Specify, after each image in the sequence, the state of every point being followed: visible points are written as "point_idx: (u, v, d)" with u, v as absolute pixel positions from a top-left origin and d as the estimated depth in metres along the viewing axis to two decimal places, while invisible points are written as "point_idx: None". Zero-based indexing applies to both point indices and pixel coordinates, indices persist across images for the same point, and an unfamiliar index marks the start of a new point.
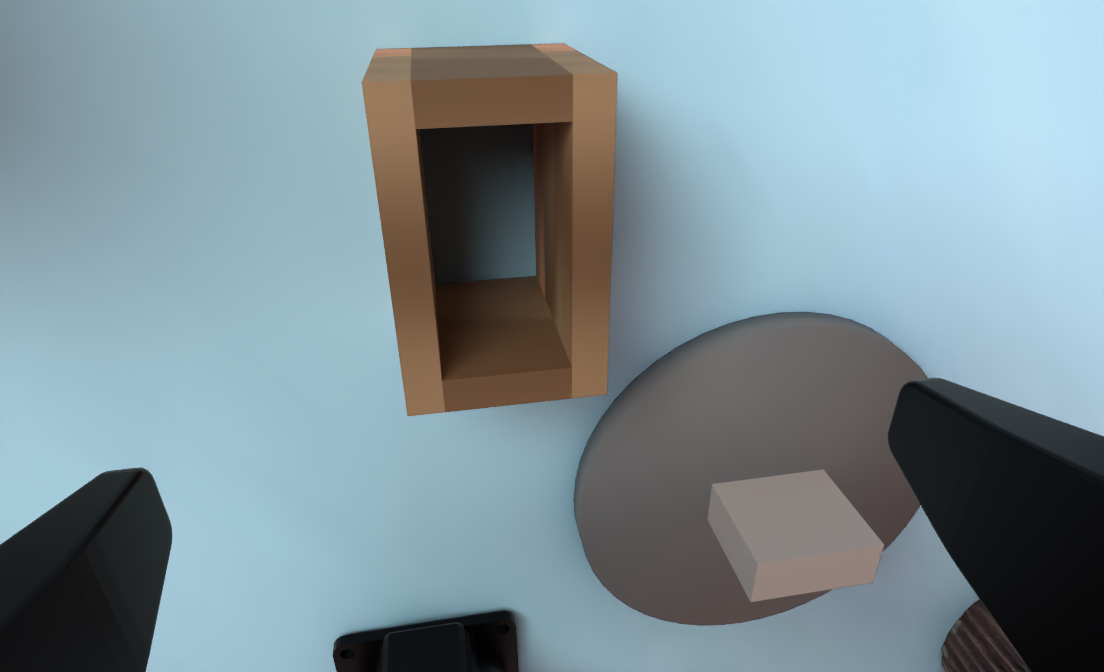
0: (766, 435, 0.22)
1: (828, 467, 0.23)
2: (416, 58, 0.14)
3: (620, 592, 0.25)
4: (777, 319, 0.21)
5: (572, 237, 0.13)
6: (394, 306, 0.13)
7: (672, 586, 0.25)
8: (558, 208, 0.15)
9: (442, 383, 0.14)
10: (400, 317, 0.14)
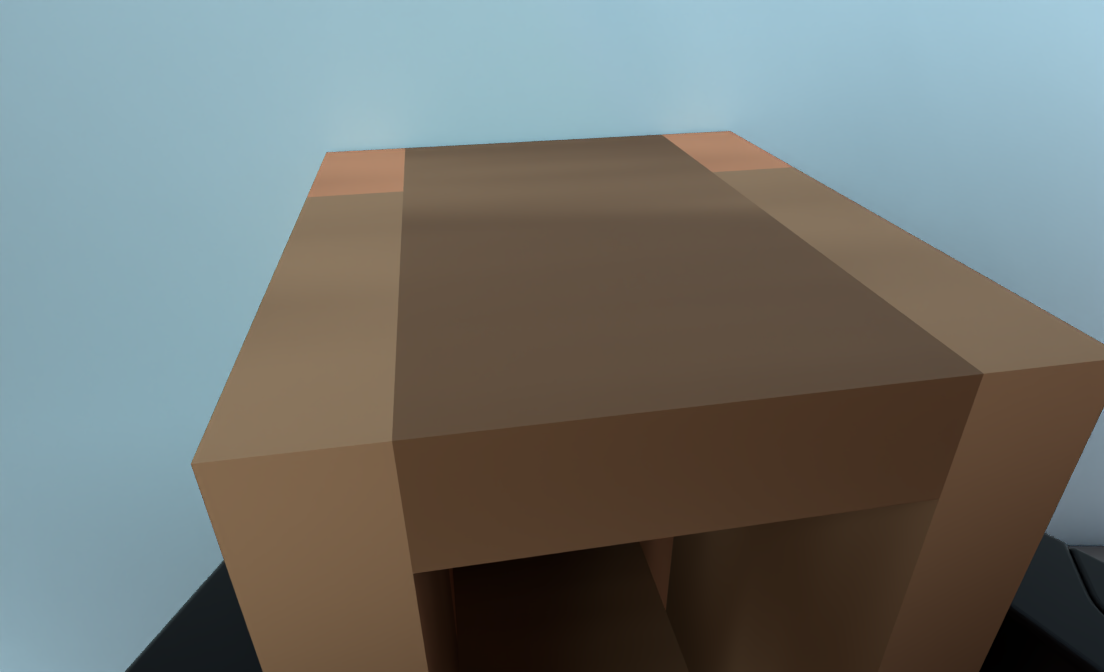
0: None
1: None
2: (416, 207, 0.06)
3: None
4: None
5: None
6: None
7: None
8: (761, 560, 0.06)
9: None
10: None
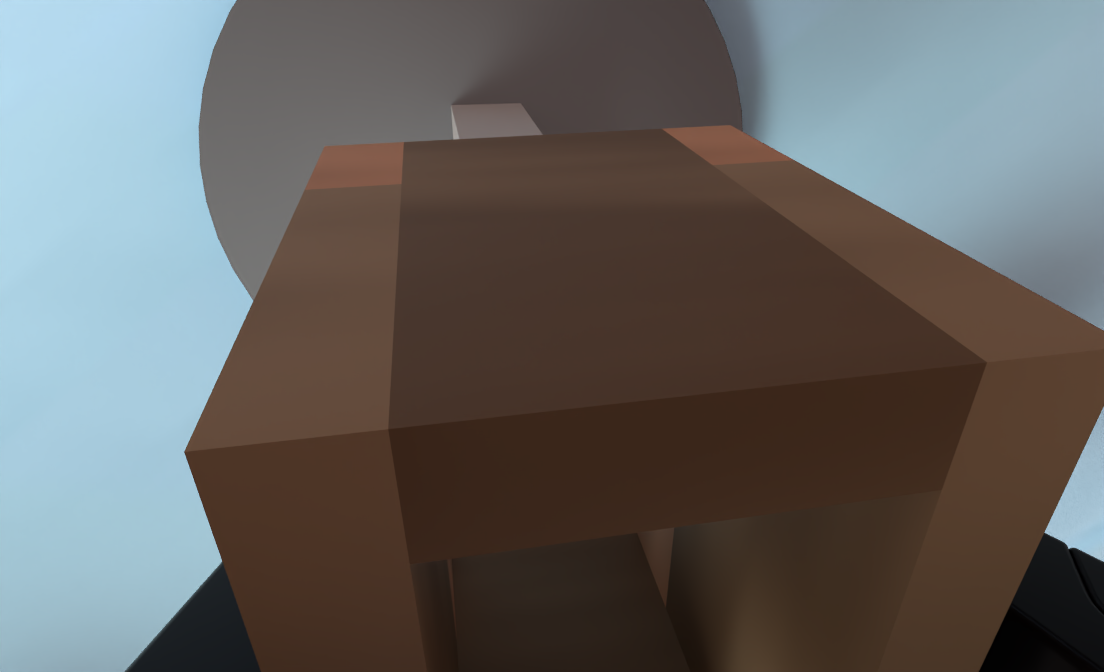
0: None
1: (449, 95, 0.16)
2: (414, 200, 0.05)
3: None
4: None
5: None
6: None
7: None
8: (762, 555, 0.06)
9: None
10: None
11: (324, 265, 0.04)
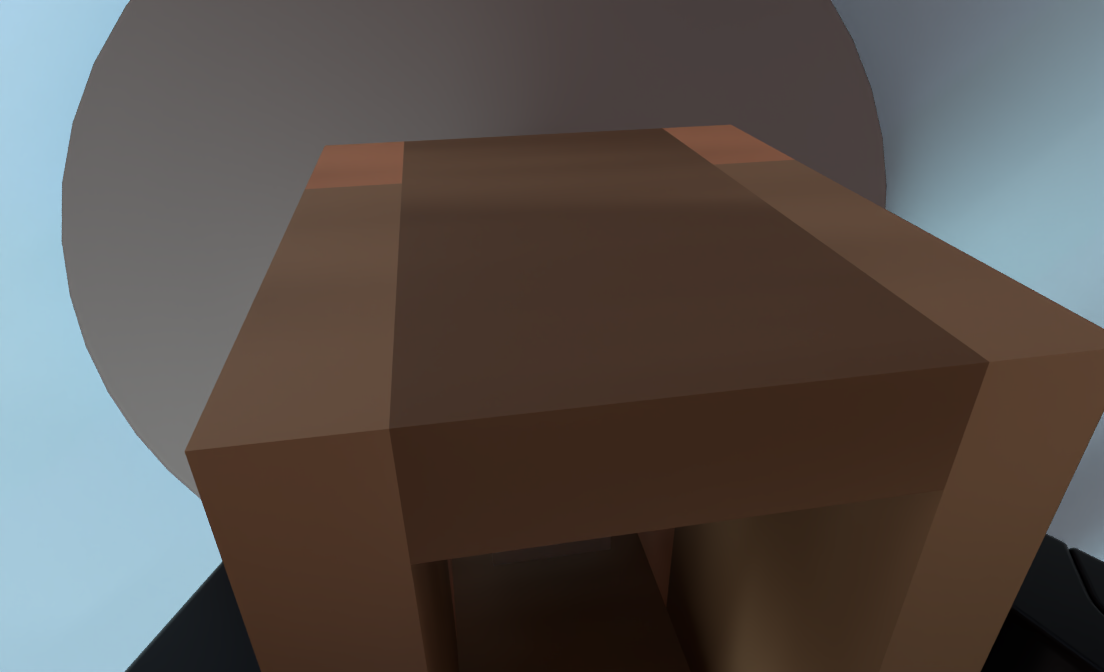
0: None
1: None
2: (415, 199, 0.05)
3: None
4: None
5: None
6: None
7: None
8: (763, 555, 0.06)
9: None
10: None
11: (325, 264, 0.04)
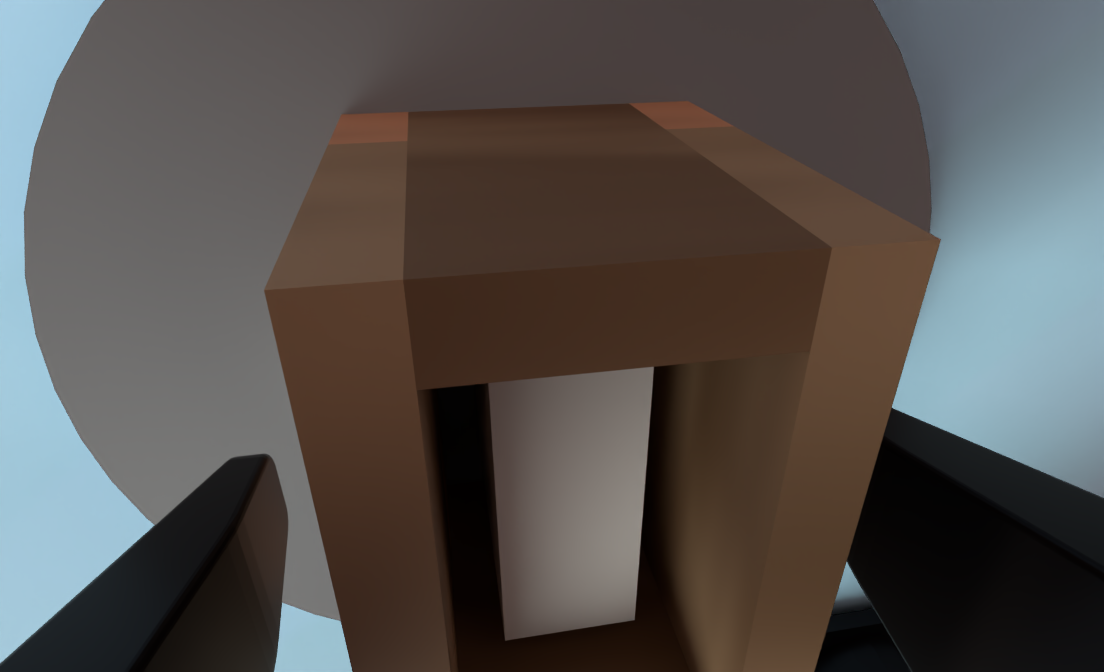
0: None
1: None
2: (418, 151, 0.07)
3: None
4: None
5: (764, 566, 0.06)
6: None
7: None
8: (703, 450, 0.07)
9: None
10: None
11: (349, 192, 0.06)
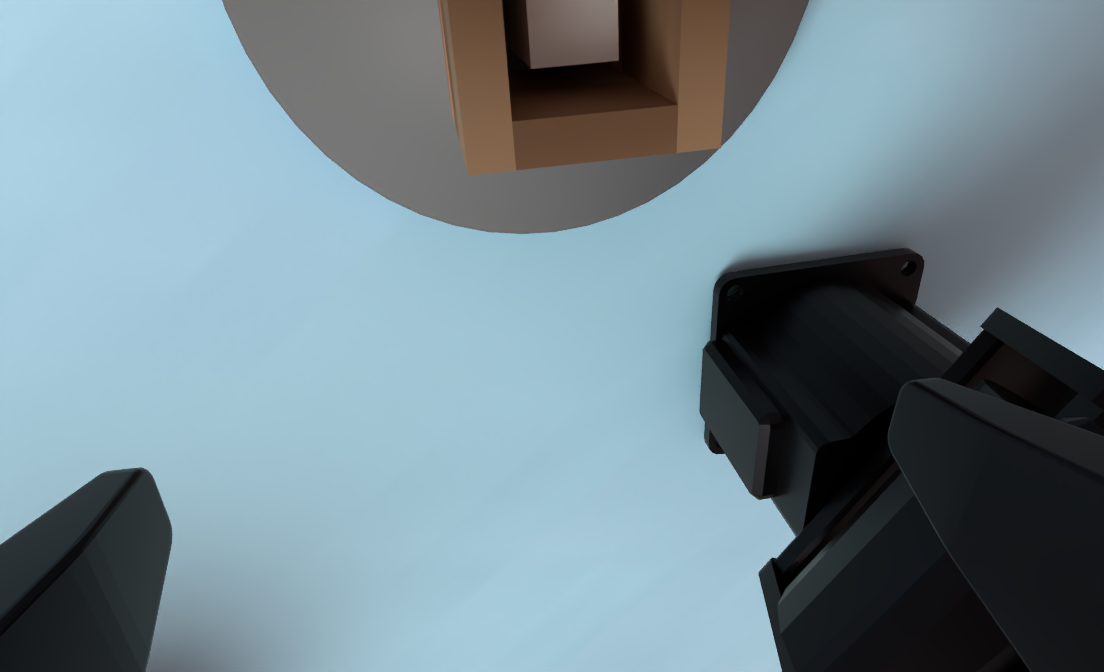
0: None
1: None
2: None
3: (698, 155, 0.17)
4: None
5: None
6: None
7: None
8: None
9: (512, 126, 0.11)
10: (457, 18, 0.10)
11: None
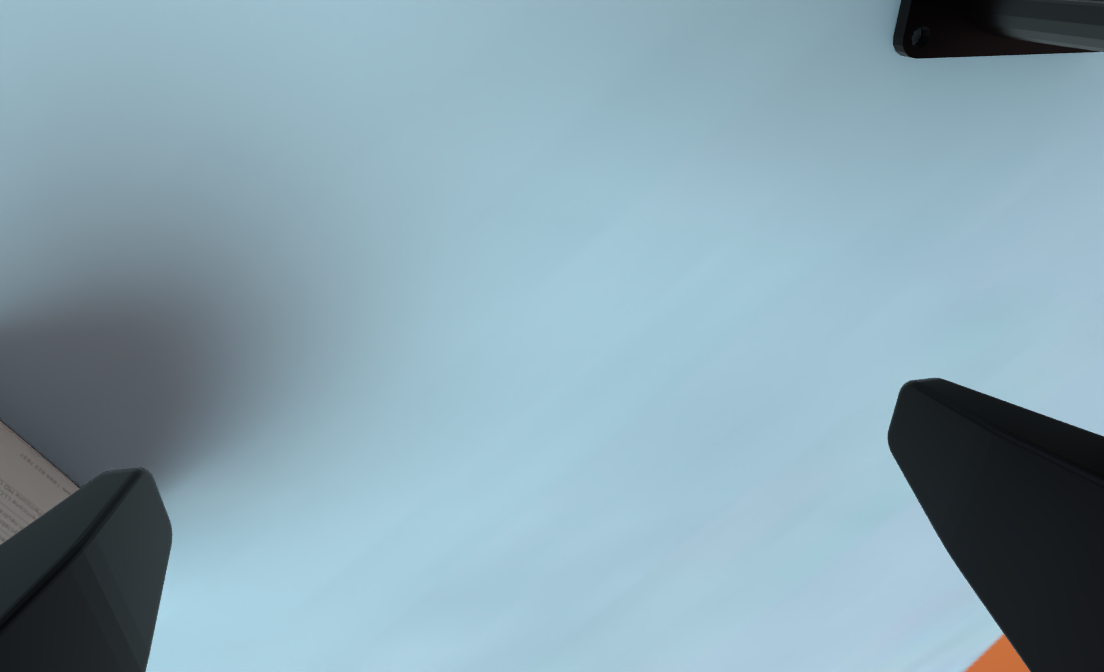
0: None
1: None
2: None
3: None
4: None
5: None
6: None
7: None
8: None
9: None
10: None
11: None
